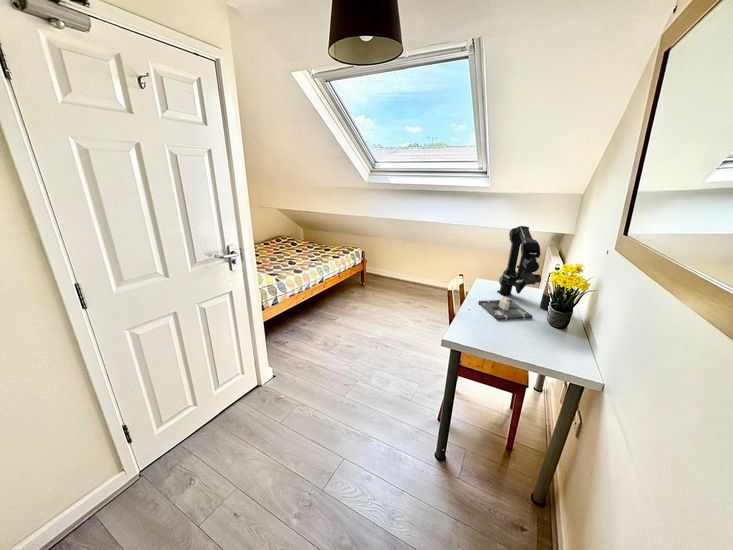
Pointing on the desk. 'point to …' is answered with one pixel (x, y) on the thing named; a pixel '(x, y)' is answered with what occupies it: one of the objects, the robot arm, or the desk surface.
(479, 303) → the cord bundle inner
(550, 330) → the desk surface
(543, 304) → the travel mug
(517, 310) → the breaker panel
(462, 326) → the desk surface
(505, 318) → the cord bundle outer
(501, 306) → the lever
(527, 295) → the desk surface
